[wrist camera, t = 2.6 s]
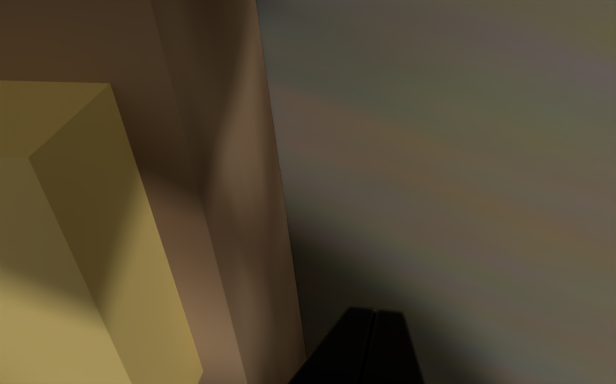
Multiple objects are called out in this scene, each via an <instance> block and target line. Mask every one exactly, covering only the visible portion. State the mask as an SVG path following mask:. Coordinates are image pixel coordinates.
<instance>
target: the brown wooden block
mask: <svg viewBox="0 0 616 384" xmlns="http://www.w3.org/2000/svg"><path fill="white" fill-rule="evenodd" d="M0 80H2V81H40V82H78V83H110V85H111V88H112V91H113V94H114V97H115V100H116V103H117V106H118V109H119V112H120V115H121V118H122V122H123V125H124V128H125V131H126V134H127V137H128V140H129V143H130V146H131V149H132V152H133V156H134V159H135V162H136V165H137V168H138V171H139V174H140V177H141V180H142V183H143V186H144V189H145V193H146V196H147V199H148V202H149V205H150V208H151V211H152V214H153V217H154V220H155V223H156V227H157V230H158V233H159V236H160V239H161V242H162V245H163V248H164V251H165V254H166V257H167V260H168V264H169V267H170V270H171V273H172V276H173V279H174V282H175V285H176V288H177V291H178V294H179V298H180V301H181V304H182V307H183V310H184V313H185V316H186V319H187V322H188V325H189V328H190V331H191V335H192V338H193V341H194V344H195V347H196V350H197V353H198V356H199V359H200V362H201V365H202V369H203V373H202V375H201V378H200V380H199V382H198V384H287V383H288V382H289V380H290V379H291V378H292V377H293V375H294V374H295V373H296V372H297V370H298V369H299V368H300V367H301V365H302V364H303V363H304V361H305V360H306V359H307V358H306V351H305V344H304V337H303V330H302V323H301V315H300V308H299V301H298V294H297V287H296V280H295V273H294V266H293V259H292V252H291V245H290V238H289V231H288V224H287V217H286V210H285V203H284V196H283V189H282V182H281V175H280V168H279V161H278V154H277V147H276V140H275V133H274V126H273V118H272V111H271V104H270V97H269V90H268V83H267V76H266V69H265V62H264V55H263V48H262V41H261V34H260V27H259V20H258V13H257V6H256V0H0Z"/></svg>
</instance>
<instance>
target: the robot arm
mask: <svg viewBox="0 0 616 384" xmlns="http://www.w3.org/2000/svg"><path fill="white" fill-rule="evenodd" d="M287 384H426V383H425V380H424V377H423V373H422V370H421V367H420V364H419V360H418V357H417V354H416V351H415V347H414V344H413V341H412V337H411V334H410V331H409V328H408V324H407V321H406V318H405V315H404V314H403V312H401V311H396V310H388V309H379V310H377V312H376V311H375V309H373V308H371V307H363V306H349V307H348V308H347V309H346V310H345V311H344V312H343V314H342V315H341V316H340V318H339V319H338V320H337V321H336V323H335V324H334V325H333V326H332V328H331V329H330V330H329V331H328V333H327V334H326V335H325V336H324V338H323V339H322V340H321V341H320V343H319V344H318V345H317V346H316V348H315V349H314V350H313V351H312V353H311V354H310V355H309V356H308V358H307V359H306V360H305V361H304V363H303V364H302V365H301V367H300V368H299V369H298V370H297V372H296V373H295V374H294V375H293V377H292V378H291V379H290V380H289V382H288V383H287Z"/></svg>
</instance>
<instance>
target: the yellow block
mask: <svg viewBox="0 0 616 384" xmlns="http://www.w3.org/2000/svg"><path fill="white" fill-rule="evenodd" d="M202 373H203V369H202V365H201V362H200V359H199V356H198V353H197V350H196V347H195V344H194V341H193V338H192V335H191V331H190V328H189V325H188V322H187V319H186V316H185V313H184V310H183V307H182V304H181V301H180V298H179V294H178V291H177V288H176V285H175V282H174V279H173V276H172V273H171V270H170V267H169V264H168V260H167V257H166V254H165V251H164V248H163V245H162V242H161V239H160V236H159V233H158V230H157V227H156V223H155V220H154V217H153V214H152V211H151V208H150V205H149V202H148V199H147V196H146V193H145V189H144V186H143V183H142V180H141V177H140V174H139V171H138V168H137V165H136V162H135V159H134V156H133V152H132V149H131V146H130V143H129V140H128V137H127V134H126V131H125V128H124V125H123V122H122V118H121V115H120V112H119V109H118V106H117V103H116V100H115V97H114V94H113V91H112V88H111V85H110V83H78V82H40V81H2V80H0V384H198V382H199V380H200V378H201V375H202Z"/></svg>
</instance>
